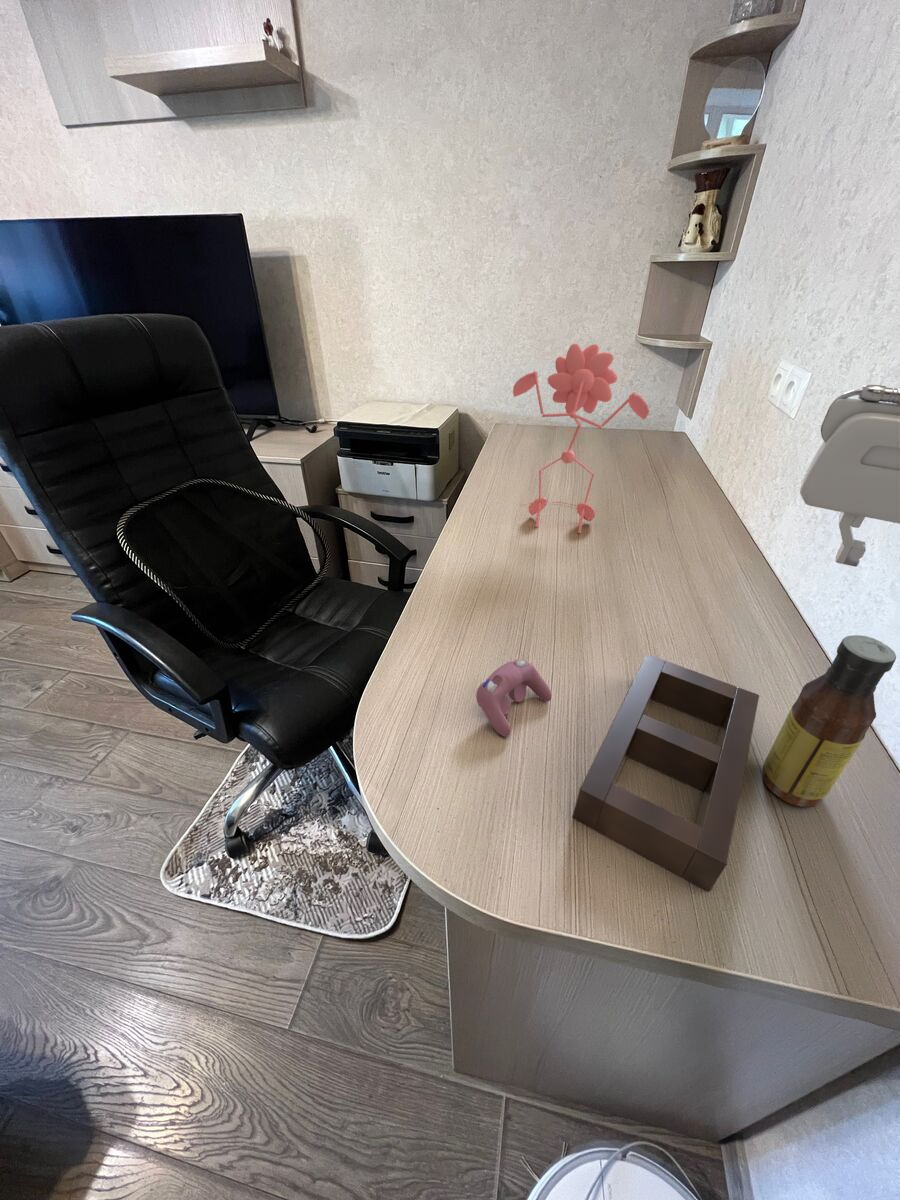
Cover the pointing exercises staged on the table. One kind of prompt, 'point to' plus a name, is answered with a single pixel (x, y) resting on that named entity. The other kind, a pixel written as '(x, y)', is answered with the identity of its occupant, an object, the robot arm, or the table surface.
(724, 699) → the hole block
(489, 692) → the video game controller
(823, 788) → the sauce bottle
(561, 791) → the table surface
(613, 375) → the flower sculpture
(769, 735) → the table surface
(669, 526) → the table surface
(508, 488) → the table surface
